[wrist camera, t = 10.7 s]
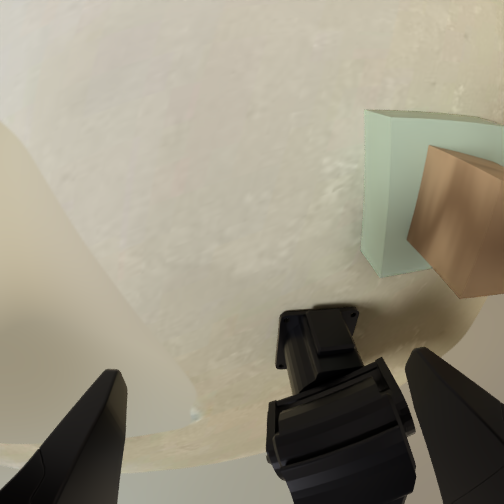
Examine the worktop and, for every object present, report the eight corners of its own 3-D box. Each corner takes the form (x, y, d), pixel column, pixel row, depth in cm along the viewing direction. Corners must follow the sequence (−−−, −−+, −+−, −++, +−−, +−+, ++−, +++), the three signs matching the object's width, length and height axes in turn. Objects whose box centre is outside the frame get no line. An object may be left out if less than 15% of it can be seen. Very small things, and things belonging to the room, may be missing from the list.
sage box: (460, 232, 23) (487, 256, 20) (358, 247, 23) (379, 277, 19) (474, 116, 18) (510, 127, 15) (361, 109, 18) (390, 117, 14)
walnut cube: (470, 242, 19) (522, 291, 14) (406, 239, 18) (459, 298, 13) (493, 161, 16) (558, 197, 11) (428, 145, 15) (501, 180, 10)
